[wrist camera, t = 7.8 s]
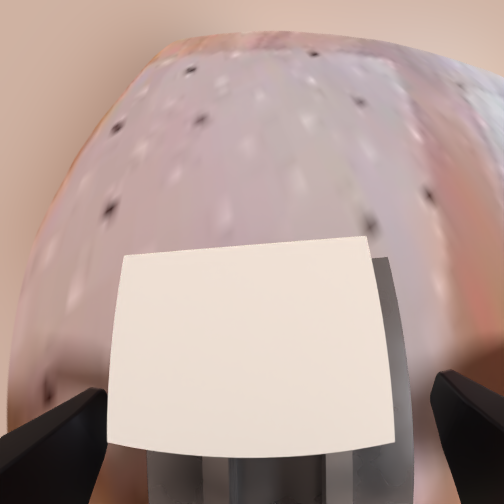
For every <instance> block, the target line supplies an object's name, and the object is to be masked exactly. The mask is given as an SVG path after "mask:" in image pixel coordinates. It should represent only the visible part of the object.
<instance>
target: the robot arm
mask: <svg viewBox="0 0 504 504" xmlns="http://www.w3.org/2000/svg"><path fill="white" fill-rule="evenodd" d="M430 402H431V406H432V410H433V413H434V417H435V421H436V424H437V428H438V432H439V436H440V440H441V444H442V448H443V451H444V454H445V456H446V459H447V462H448V465H449V468H450V470H451V473H452V476H453V479H454V482H455V485H456V488H457V492H458V495H459V498H460V501H461V504H504V397H503V396H501V395H499V394H497V393H495V392H493V391H492V390H490V389H488V388H486V387H484V386H482V385H480V384H478V383H476V382H474V381H473V380H471V379H469V378H467V377H465V376H463V375H461V374H459V373H457V372H456V371H454V370H446V371H442V372H439V373H438V374H437V375H436V378H435V382H434V385H433V388H432V392H431V395H430ZM107 408H108V395H107V393H106V391H105V390H104V389H101V388H94V387H91V388H89V389H87V390H85V391H84V392H82V393H80V394H78V395H77V396H75V397H73V398H71V399H70V400H68V401H66V402H64V403H62V404H61V405H59V406H57V407H55V408H54V409H52V410H50V411H48V412H46V413H45V414H43V415H41V416H39V417H37V418H35V419H34V420H32V421H30V422H28V423H26V424H24V425H22V426H21V427H19V428H17V429H15V430H13V431H11V432H9V433H8V434H6V435H4V436H2V437H1V438H0V504H88V503H89V500H90V497H91V494H92V491H93V488H94V485H95V483H96V480H97V477H98V474H99V471H100V468H101V466H102V463H103V460H104V456H105V453H106V449H107V445H108V442H107Z"/></svg>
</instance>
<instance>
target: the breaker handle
mask: <svg viewBox="0 0 504 504" xmlns="http://www.w3.org/2000/svg"><path fill="white" fill-rule="evenodd" d="M107 442H108V443H112V444H117V445H122V446H128V447H133V448H139V449H145V450H151V451H159V452H166V453H175V454H184V455H195V456H209V457H233V458H267V457H291V456H305V455H316V454H326V453H334V452H342V451H349V450H356V449H362V448H367V447H373V446H378V445H383V444H388V443H393V442H395V431H394V413H393V400H392V388H391V378H390V369H389V360H388V352H387V344H386V337H385V330H384V324H383V318H382V311H381V306H380V300H379V294H378V289H377V284H376V279H375V274H374V269H373V264H372V259H371V255H370V250H369V246H368V241H367V237H366V236H358V237H345V238H332V239H319V240H306V241H293V242H280V243H268V244H255V245H243V246H231V247H219V248H207V249H195V250H183V251H171V252H159V253H148V254H136V255H125V256H124V260H123V265H122V271H121V277H120V283H119V289H118V296H117V303H116V310H115V318H114V327H113V336H112V345H111V356H110V369H109V385H108V408H107Z"/></svg>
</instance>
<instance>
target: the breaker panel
mask: <svg viewBox="0 0 504 504" xmlns="http://www.w3.org/2000/svg"><path fill="white" fill-rule="evenodd" d="M372 264H373V269H374V274H375V279H376V284H377V289H378V294H379V300H380V306H381V311H382V318H383V324H384V330H385V337H386V344H387V352H388V360H389V369H390V378H391V388H392V400H393V413H394V431H395V442H393V443H388V444H383V445H378V446H373V447H367V448H362V449H356V450H349V451H342V452H334V453H326V454H316V455H305V456H291V457H267V458H233V457H209V456H195V455H184V454H175V453H166V452H159V451H151V450H147V478H148V497H149V504H413V492H414V441H413V420H412V405H411V394H410V383H409V374H408V366H407V358H406V350H405V344H404V337H403V331H402V325H401V319H400V313H399V308H398V302H397V297H396V292H395V287H394V283H393V278H392V273H391V269H390V265H389V260H388V257H384V258H373V259H372Z"/></svg>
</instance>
